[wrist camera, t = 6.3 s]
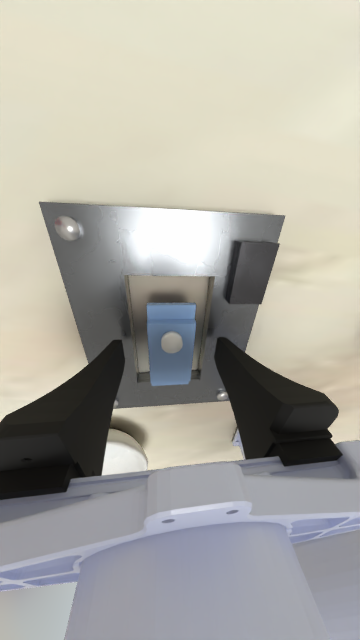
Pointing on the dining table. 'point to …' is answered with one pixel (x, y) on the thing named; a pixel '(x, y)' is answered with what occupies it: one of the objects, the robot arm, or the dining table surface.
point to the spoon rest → (123, 454)
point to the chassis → (161, 260)
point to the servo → (170, 342)
